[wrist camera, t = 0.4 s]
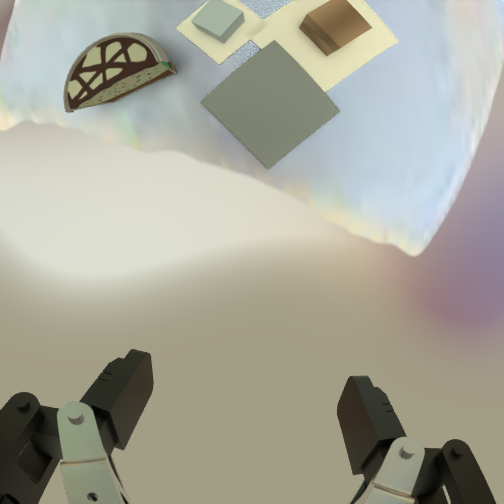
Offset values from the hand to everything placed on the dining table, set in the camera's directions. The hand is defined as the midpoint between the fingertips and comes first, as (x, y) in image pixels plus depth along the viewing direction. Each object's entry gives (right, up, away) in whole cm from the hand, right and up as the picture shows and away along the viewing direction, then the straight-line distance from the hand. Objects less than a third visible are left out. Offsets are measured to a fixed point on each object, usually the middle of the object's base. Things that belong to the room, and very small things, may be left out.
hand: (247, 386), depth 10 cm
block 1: (-3, +32, +14) cm, 35 cm away
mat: (+3, +23, +20) cm, 30 cm away
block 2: (+9, +32, +14) cm, 36 cm away
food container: (-14, +29, +17) cm, 36 cm away
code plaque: (+9, +32, +14) cm, 36 cm away
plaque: (-3, +32, +14) cm, 36 cm away
